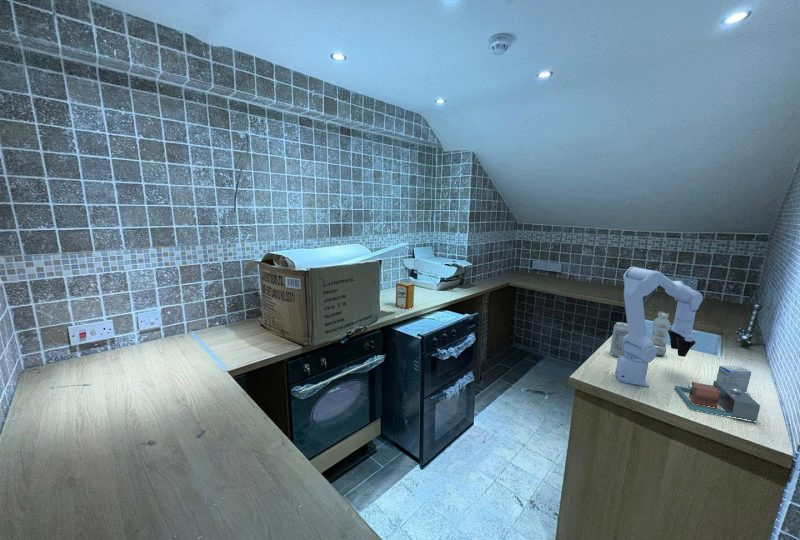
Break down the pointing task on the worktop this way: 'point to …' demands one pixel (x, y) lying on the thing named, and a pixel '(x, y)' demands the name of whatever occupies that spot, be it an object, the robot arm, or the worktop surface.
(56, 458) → the worktop surface
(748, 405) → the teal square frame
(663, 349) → the plastic bottle
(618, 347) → the energy drink can
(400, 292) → the baking soda box
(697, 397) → the brown wooden block
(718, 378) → the medicine box
